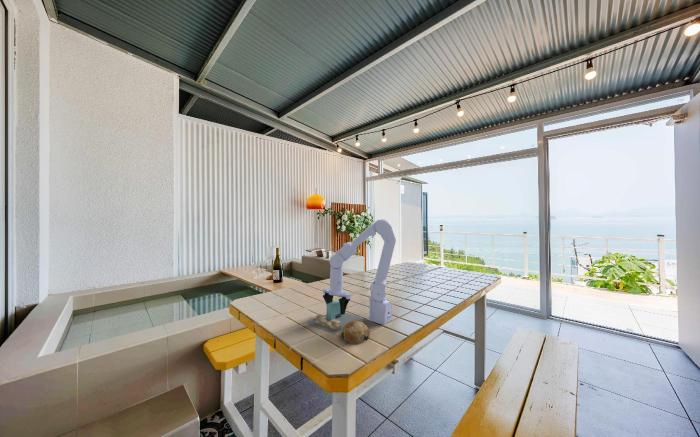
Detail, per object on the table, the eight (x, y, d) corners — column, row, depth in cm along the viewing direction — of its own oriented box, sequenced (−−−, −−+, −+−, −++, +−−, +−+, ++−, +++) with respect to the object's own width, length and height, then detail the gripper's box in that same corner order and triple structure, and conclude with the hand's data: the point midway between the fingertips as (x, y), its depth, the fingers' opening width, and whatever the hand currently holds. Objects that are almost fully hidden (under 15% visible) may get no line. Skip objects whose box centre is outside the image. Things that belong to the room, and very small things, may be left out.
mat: (364, 318, 108) (364, 317, 108) (334, 335, 92) (334, 334, 92) (336, 310, 118) (336, 309, 118) (305, 324, 102) (305, 323, 102)
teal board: (345, 314, 112) (345, 299, 112) (330, 321, 104) (330, 305, 104) (341, 313, 113) (341, 298, 113) (326, 320, 105) (326, 304, 105)
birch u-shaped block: (341, 328, 97) (341, 321, 97) (337, 330, 95) (337, 322, 96) (319, 321, 104) (319, 314, 104) (316, 322, 103) (316, 315, 103)
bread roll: (355, 357, 84) (364, 338, 83) (334, 337, 89) (341, 319, 88) (369, 344, 93) (377, 327, 91) (348, 327, 98) (355, 311, 96)
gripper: (318, 280, 110) (318, 310, 110) (343, 285, 101) (343, 318, 101) (329, 277, 116) (328, 306, 115) (353, 282, 107) (353, 313, 107)
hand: (336, 312), depth 109 cm, fingers open, 7 cm apart
